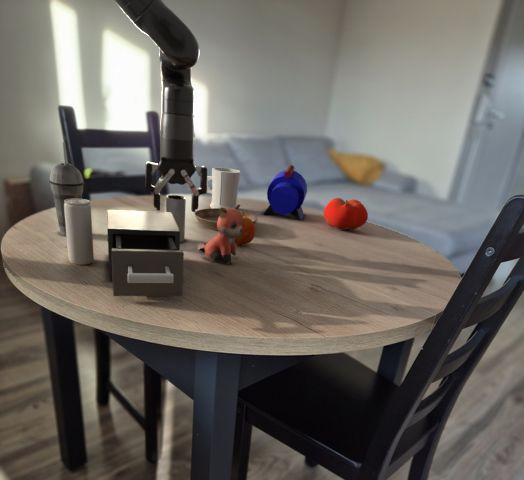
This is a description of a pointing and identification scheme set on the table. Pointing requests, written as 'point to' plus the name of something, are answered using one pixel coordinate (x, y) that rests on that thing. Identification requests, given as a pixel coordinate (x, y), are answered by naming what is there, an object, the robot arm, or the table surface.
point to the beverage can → (79, 231)
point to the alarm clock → (287, 193)
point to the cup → (224, 187)
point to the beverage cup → (65, 187)
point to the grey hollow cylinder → (177, 211)
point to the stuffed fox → (224, 236)
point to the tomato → (345, 214)
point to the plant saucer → (215, 217)
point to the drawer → (146, 266)
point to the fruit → (246, 232)
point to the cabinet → (139, 227)
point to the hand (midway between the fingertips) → (175, 210)
